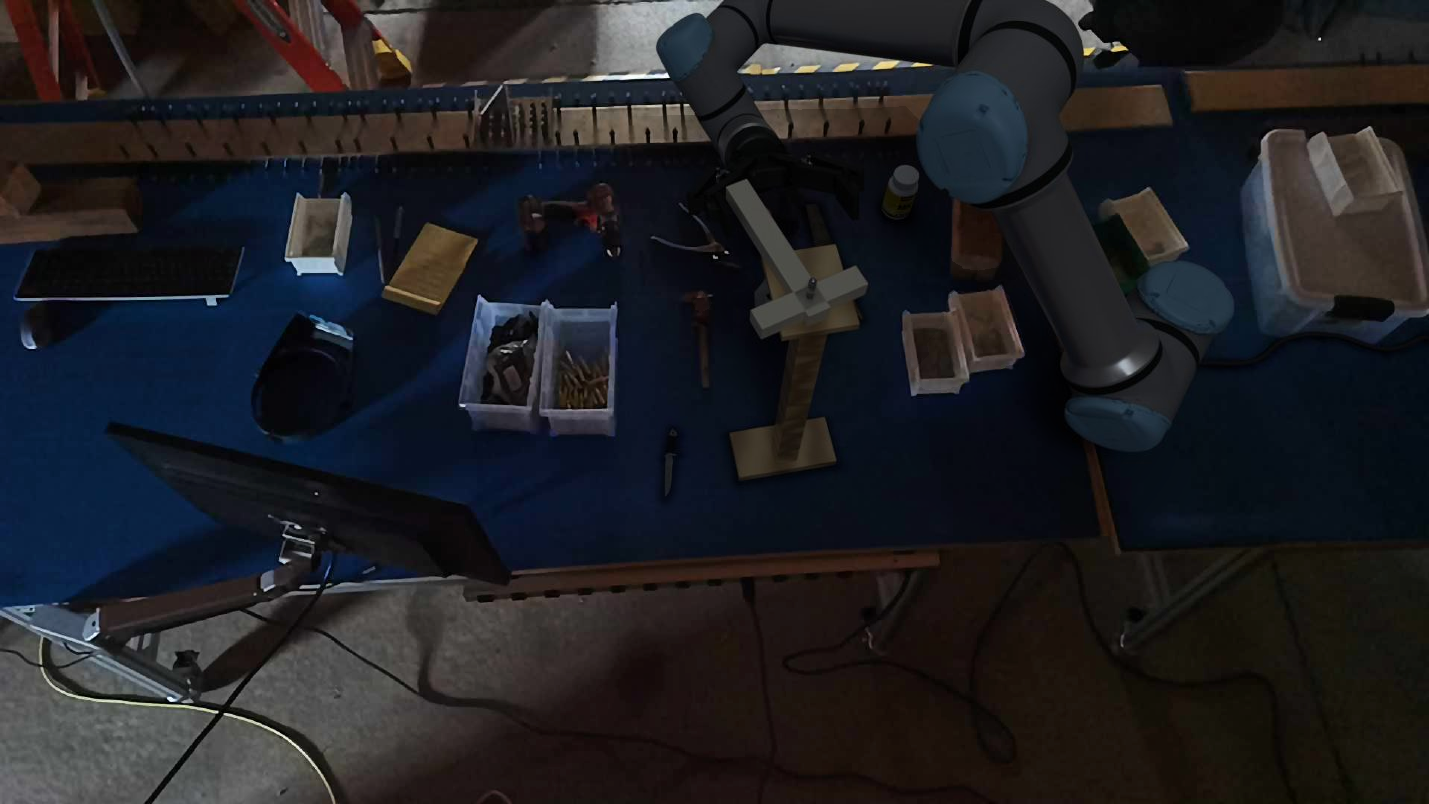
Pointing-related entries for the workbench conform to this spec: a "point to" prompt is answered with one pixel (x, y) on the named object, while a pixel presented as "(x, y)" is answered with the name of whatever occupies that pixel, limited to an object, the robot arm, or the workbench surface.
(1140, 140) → the workbench surface
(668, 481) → the knife
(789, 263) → the grey t-shaped block
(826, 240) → the hand saw
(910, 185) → the supplement bottle
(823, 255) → the stand
